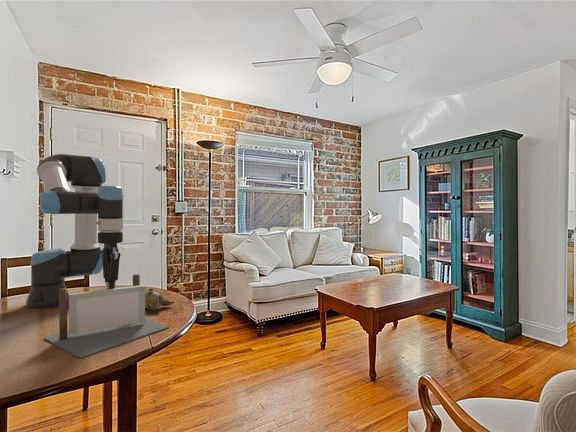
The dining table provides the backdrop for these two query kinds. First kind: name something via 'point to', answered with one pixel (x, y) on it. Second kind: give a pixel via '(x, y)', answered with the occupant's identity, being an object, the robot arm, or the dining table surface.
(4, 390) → the dining table surface
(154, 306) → the ceramic sculpture
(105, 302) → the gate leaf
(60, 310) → the gate posts
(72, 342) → the mat
